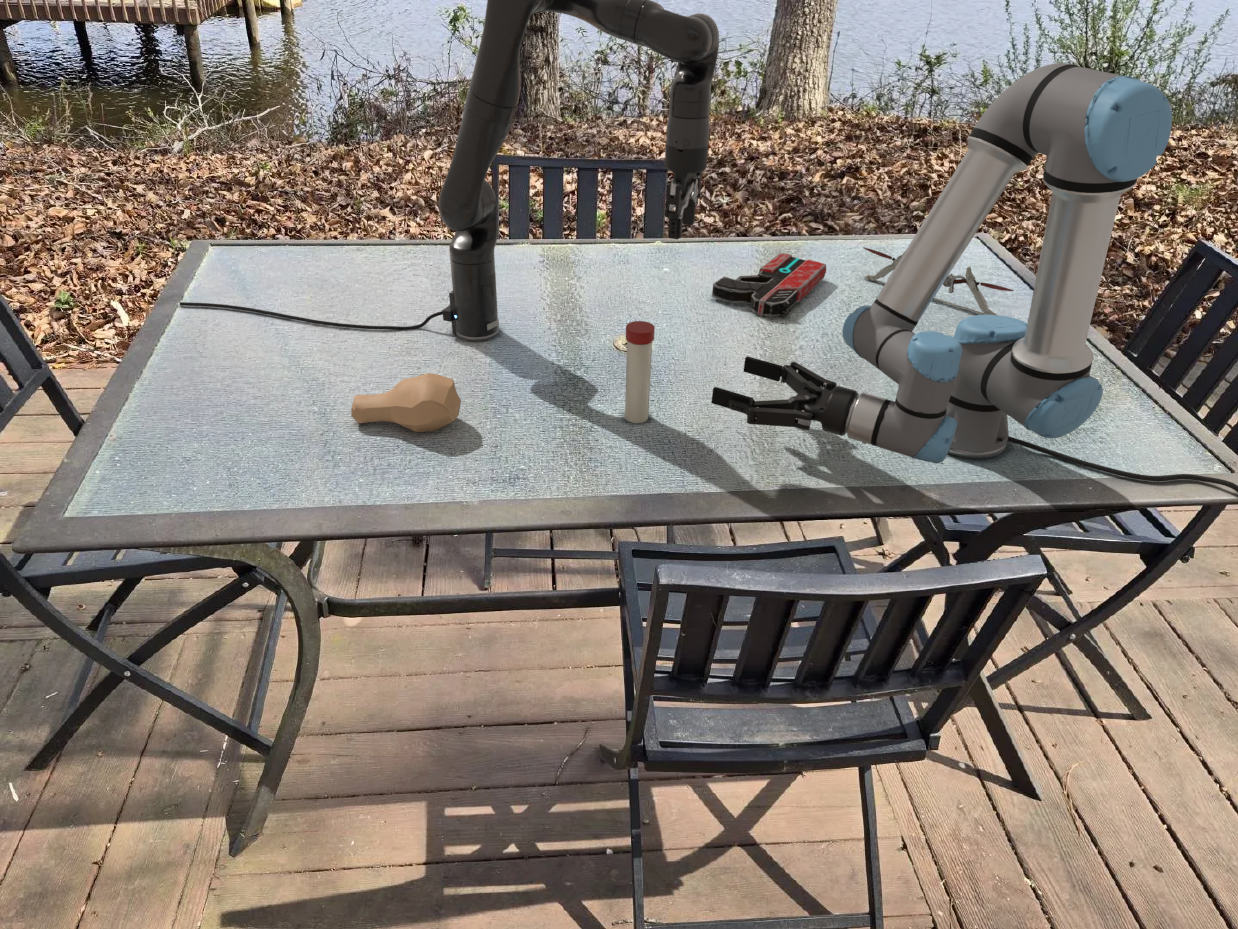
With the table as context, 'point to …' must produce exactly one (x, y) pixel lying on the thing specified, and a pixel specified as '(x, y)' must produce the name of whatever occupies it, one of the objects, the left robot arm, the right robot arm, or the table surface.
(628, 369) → the slim white bottle
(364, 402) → the squash
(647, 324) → the lid
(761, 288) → the gun
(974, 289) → the bow
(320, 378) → the table surface
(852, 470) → the table surface
